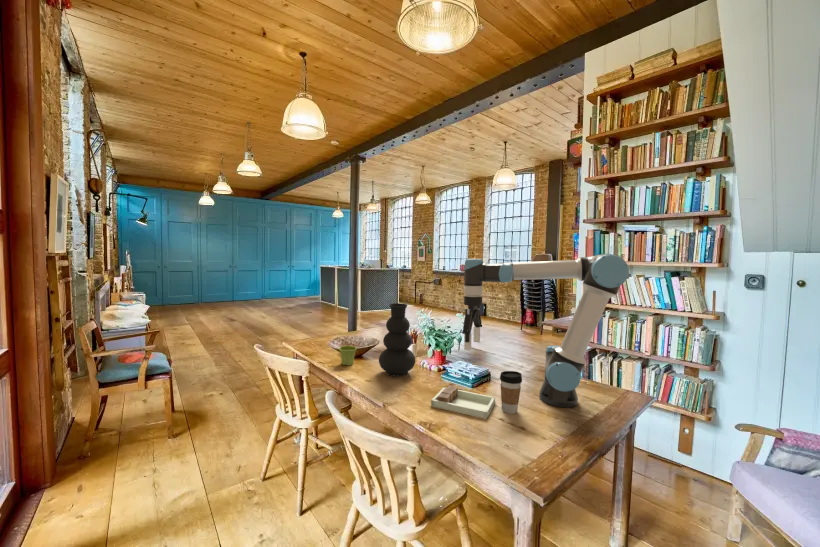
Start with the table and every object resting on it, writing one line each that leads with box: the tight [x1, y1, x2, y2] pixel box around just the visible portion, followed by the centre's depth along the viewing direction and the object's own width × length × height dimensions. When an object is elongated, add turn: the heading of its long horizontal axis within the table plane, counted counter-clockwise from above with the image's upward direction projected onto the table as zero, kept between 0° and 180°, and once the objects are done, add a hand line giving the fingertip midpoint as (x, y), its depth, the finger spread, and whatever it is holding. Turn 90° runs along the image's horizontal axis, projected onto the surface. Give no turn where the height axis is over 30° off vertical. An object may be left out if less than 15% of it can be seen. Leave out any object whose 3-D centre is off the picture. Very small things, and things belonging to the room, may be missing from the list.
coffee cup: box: [499, 370, 523, 415], centre depth 137 cm, size 8×8×15 cm
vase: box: [378, 302, 416, 377], centre depth 175 cm, size 18×18×35 cm
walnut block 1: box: [438, 393, 450, 403], centre depth 138 cm, size 4×4×4 cm
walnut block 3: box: [446, 385, 459, 400], centre depth 146 cm, size 4×4×4 cm
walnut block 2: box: [441, 389, 454, 403], centre depth 143 cm, size 4×4×4 cm
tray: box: [430, 386, 496, 420], centre depth 139 cm, size 22×15×4 cm
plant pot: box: [338, 345, 357, 366], centre depth 188 cm, size 9×9×9 cm
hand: (472, 345), depth 147 cm, fingers open, 13 cm apart
